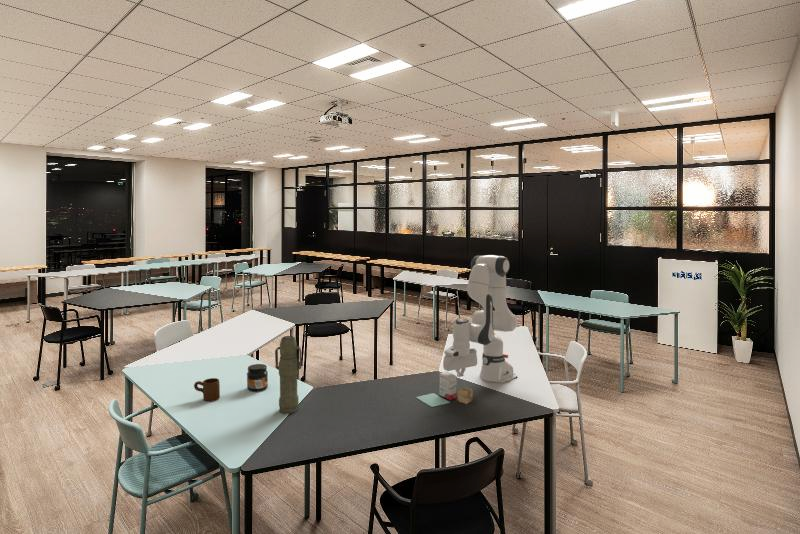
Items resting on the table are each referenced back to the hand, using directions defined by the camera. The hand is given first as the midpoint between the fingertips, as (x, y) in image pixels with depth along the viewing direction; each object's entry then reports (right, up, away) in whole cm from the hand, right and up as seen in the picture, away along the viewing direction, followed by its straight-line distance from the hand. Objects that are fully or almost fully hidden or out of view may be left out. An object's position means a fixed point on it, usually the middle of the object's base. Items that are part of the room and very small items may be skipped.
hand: (460, 376), depth 237 cm
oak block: (+1, -10, -9) cm, 14 cm away
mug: (-127, -9, -11) cm, 128 cm away
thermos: (-84, -11, -23) cm, 87 cm away
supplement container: (-107, -8, +4) cm, 107 cm away
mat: (-15, -10, -8) cm, 20 cm away
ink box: (-7, -10, -3) cm, 12 cm away
